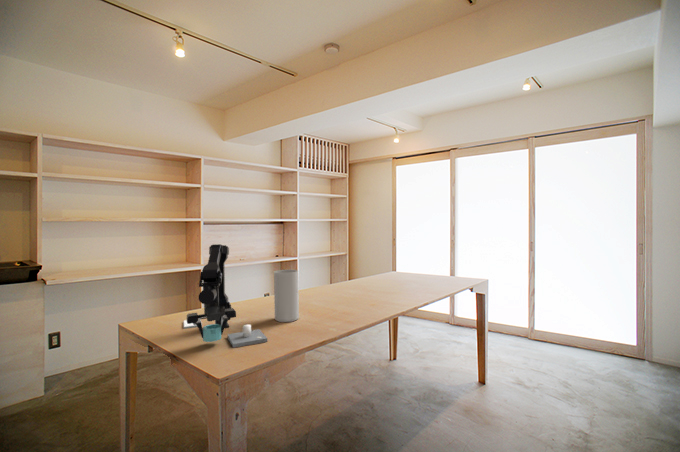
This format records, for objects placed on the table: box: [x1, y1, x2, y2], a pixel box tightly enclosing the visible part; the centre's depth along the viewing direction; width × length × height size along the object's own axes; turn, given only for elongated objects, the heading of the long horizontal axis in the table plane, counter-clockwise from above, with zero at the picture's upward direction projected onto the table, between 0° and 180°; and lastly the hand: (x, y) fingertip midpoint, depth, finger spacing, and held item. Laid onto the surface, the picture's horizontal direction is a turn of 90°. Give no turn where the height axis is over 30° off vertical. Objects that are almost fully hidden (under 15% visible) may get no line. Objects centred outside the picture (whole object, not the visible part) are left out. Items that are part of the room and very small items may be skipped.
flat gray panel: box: [227, 324, 268, 349], centre depth 144 cm, size 14×14×6 cm
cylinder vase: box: [273, 269, 300, 323], centre depth 174 cm, size 12×12×25 cm
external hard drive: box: [183, 319, 198, 330], centre depth 168 cm, size 2×8×12 cm
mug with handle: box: [202, 323, 222, 343], centre depth 138 cm, size 8×7×5 cm
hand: (212, 336), depth 138 cm, fingers closed on mug with handle, 7 cm apart
